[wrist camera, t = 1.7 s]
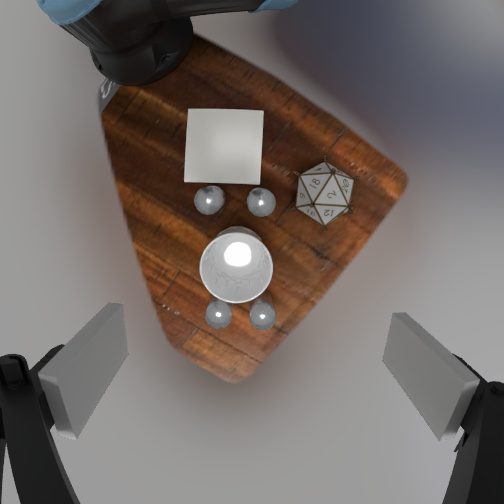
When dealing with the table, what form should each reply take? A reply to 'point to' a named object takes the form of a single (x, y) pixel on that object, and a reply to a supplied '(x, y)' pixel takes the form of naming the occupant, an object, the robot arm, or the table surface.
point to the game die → (324, 193)
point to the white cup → (236, 265)
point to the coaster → (223, 146)
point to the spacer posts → (262, 306)
